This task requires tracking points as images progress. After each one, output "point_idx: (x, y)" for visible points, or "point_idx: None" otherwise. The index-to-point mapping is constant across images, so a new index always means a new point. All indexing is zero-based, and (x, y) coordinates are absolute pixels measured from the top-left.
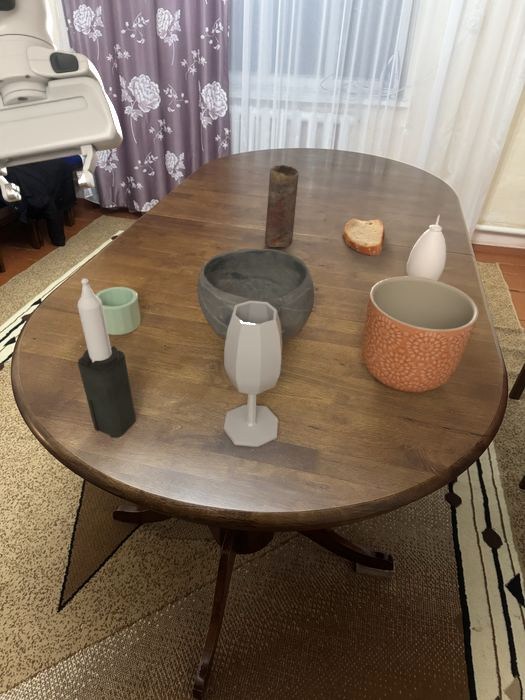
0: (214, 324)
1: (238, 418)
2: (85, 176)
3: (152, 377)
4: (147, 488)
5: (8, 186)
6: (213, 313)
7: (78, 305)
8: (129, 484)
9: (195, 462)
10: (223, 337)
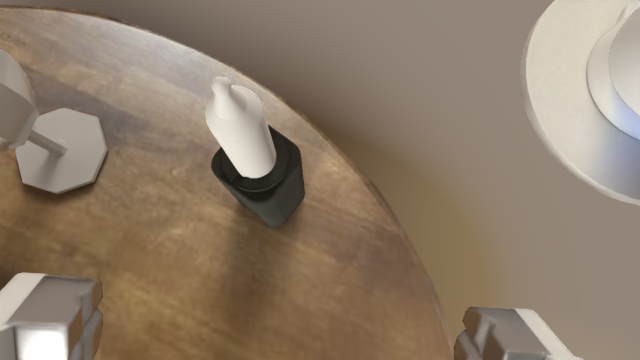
0: None
1: (76, 160)
2: (24, 297)
3: (207, 304)
4: (230, 72)
5: (521, 339)
6: None
7: (258, 100)
8: (252, 81)
9: (162, 101)
10: None
